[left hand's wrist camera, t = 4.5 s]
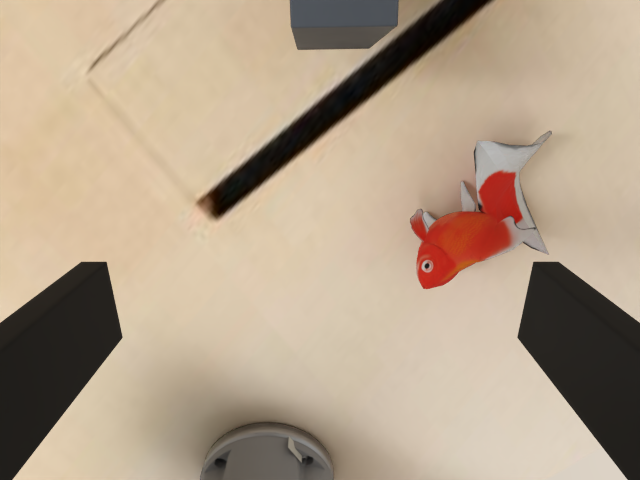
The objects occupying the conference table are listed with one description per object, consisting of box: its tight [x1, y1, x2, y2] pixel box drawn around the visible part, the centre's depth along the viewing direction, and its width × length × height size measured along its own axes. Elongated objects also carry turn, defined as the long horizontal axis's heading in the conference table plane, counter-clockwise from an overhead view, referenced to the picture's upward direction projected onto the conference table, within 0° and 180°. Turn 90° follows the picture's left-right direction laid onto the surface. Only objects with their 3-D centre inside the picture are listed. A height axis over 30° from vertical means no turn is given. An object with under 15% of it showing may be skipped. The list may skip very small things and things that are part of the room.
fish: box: [410, 131, 552, 289], centre depth 33 cm, size 11×16×10 cm
